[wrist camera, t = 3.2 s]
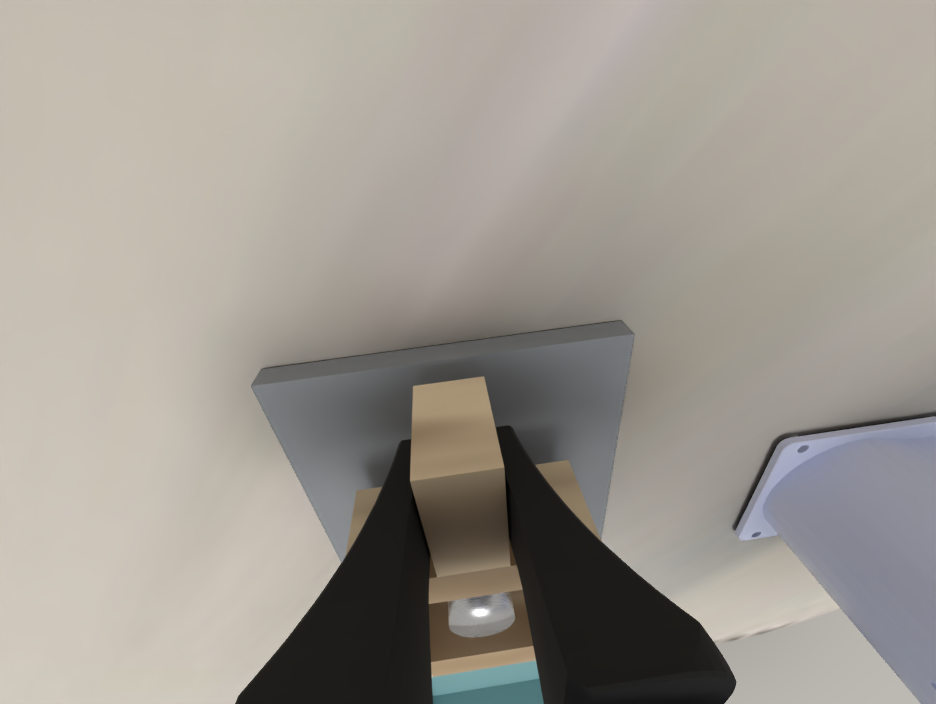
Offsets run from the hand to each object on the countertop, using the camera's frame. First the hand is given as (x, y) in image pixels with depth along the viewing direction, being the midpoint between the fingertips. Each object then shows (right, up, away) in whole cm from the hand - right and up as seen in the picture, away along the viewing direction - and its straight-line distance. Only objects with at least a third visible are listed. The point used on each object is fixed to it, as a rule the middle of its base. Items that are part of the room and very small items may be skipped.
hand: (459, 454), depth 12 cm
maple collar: (0, -3, +3) cm, 4 cm away
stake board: (0, -2, +5) cm, 6 cm away
